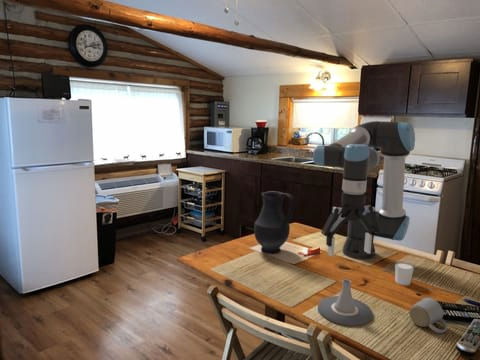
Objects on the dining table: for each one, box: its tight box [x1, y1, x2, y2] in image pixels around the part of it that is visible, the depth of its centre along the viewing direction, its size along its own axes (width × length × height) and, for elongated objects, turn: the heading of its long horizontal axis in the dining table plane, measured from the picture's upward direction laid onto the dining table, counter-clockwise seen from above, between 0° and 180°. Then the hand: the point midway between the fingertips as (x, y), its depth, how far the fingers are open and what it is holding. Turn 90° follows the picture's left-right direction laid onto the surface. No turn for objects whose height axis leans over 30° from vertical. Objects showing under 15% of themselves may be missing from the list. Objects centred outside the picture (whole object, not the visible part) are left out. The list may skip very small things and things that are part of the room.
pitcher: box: [253, 190, 296, 255], centre depth 181 cm, size 17×21×30 cm
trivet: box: [317, 295, 373, 327], centre depth 129 cm, size 18×18×1 cm
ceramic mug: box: [408, 297, 448, 334], centre depth 121 cm, size 11×8×8 cm
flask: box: [334, 279, 356, 313], centre depth 128 cm, size 7×7×10 cm
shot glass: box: [394, 262, 414, 286], centre depth 152 cm, size 7×7×7 cm
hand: (349, 253), depth 126 cm, fingers open, 13 cm apart
